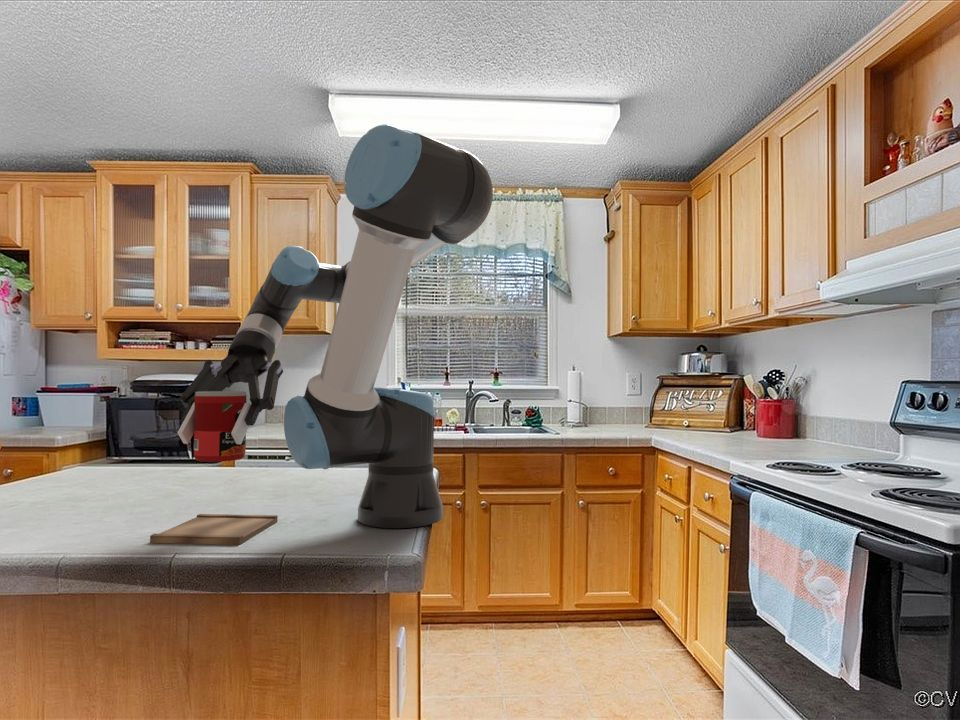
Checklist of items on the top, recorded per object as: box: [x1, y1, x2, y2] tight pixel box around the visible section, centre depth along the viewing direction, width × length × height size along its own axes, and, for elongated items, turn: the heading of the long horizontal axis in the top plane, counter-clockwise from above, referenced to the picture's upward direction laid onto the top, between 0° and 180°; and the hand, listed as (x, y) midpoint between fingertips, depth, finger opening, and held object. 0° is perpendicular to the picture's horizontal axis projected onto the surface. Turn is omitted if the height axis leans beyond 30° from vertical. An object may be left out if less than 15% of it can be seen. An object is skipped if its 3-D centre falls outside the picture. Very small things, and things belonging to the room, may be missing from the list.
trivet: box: [149, 513, 279, 546], centre depth 94 cm, size 14×14×1 cm
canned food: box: [193, 390, 248, 463], centre depth 94 cm, size 8×8×11 cm
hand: (209, 438), depth 91 cm, fingers closed on canned food, 8 cm apart
